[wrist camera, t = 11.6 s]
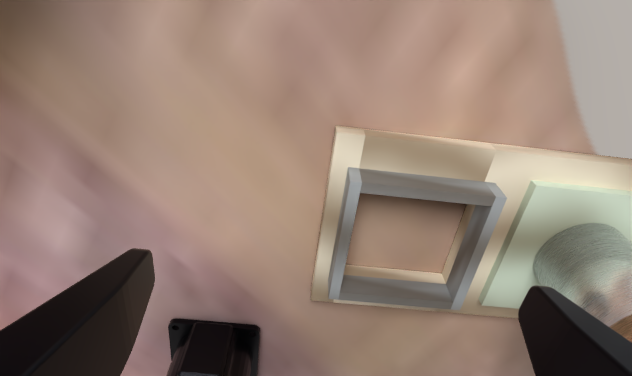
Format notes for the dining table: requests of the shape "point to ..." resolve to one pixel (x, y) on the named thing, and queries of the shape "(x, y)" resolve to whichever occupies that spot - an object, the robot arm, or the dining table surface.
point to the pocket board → (477, 221)
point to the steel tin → (591, 272)
